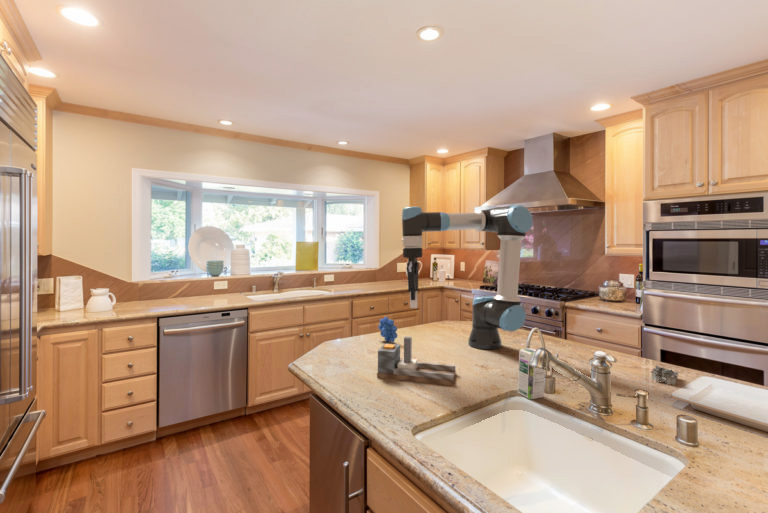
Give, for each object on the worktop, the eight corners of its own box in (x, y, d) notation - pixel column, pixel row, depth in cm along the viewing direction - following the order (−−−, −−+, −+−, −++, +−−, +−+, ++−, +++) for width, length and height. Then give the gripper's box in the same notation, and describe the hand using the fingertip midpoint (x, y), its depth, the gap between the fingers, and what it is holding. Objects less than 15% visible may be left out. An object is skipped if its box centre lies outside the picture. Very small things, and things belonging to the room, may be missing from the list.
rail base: (455, 373, 140) (455, 348, 140) (452, 385, 129) (452, 358, 128) (385, 366, 148) (385, 342, 147) (376, 377, 136) (377, 351, 136)
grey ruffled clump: (674, 387, 129) (674, 375, 129) (648, 381, 134) (649, 370, 134) (680, 379, 136) (680, 368, 136) (655, 374, 141) (656, 363, 141)
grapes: (372, 341, 184) (373, 316, 184) (382, 338, 189) (382, 314, 189) (391, 345, 176) (391, 320, 176) (400, 342, 182) (400, 318, 181)
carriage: (417, 367, 142) (417, 335, 141) (413, 373, 135) (414, 340, 134) (401, 365, 143) (402, 334, 143) (397, 372, 137) (397, 339, 136)
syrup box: (517, 393, 123) (518, 349, 122) (531, 390, 125) (532, 347, 124) (530, 400, 117) (531, 354, 117) (544, 397, 120) (545, 352, 119)
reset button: (395, 352, 142) (395, 344, 142) (392, 355, 139) (392, 347, 138) (385, 351, 143) (386, 344, 143) (383, 354, 140) (383, 346, 139)
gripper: (406, 246, 153) (407, 304, 154) (399, 248, 140) (400, 310, 141) (424, 246, 151) (426, 304, 152) (419, 247, 138) (420, 311, 139)
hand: (413, 307), depth 147 cm, fingers closed
